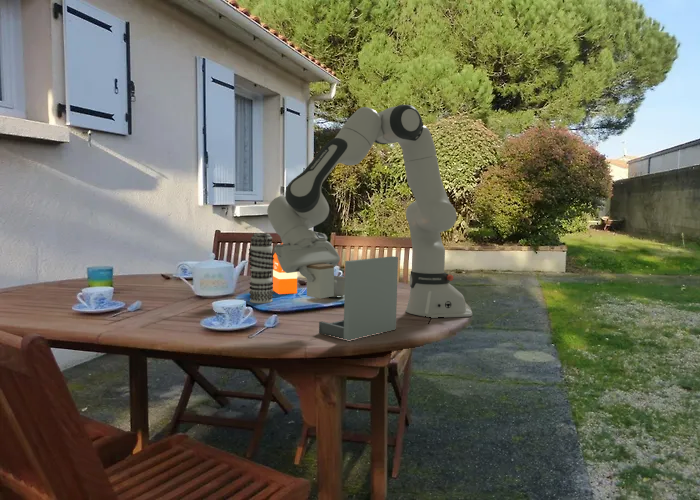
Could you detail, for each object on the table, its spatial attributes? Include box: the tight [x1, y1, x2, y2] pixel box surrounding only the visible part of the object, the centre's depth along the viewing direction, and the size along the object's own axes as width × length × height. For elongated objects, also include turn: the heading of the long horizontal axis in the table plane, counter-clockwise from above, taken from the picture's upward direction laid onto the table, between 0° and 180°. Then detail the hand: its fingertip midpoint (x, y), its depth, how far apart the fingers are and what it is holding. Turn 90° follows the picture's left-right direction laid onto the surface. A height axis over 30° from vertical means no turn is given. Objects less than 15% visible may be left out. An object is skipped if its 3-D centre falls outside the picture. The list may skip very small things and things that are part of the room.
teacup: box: [331, 275, 345, 297], centre depth 217 cm, size 14×11×8 cm
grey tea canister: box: [306, 264, 335, 299], centre depth 161 cm, size 6×6×9 cm
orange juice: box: [272, 242, 298, 295], centre depth 226 cm, size 8×9×20 cm
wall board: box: [318, 255, 399, 340], centre depth 163 cm, size 20×12×22 cm, turn 136°
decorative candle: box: [248, 232, 275, 304], centre depth 206 cm, size 9×9×25 cm
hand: (321, 279), depth 160 cm, fingers closed on grey tea canister, 5 cm apart
